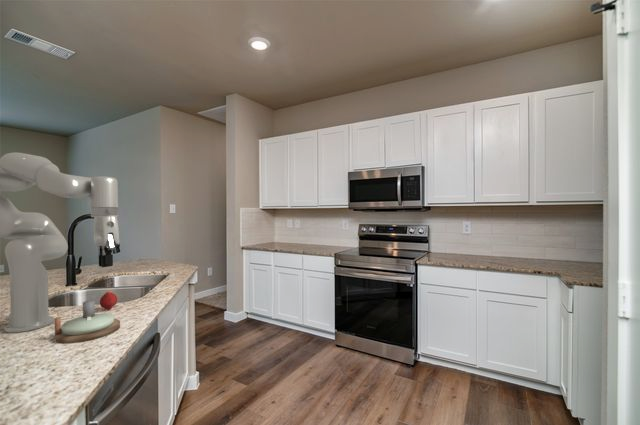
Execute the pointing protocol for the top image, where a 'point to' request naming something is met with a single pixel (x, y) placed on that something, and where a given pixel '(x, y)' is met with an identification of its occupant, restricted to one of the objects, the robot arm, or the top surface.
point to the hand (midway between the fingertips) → (105, 265)
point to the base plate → (83, 337)
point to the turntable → (87, 321)
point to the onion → (108, 300)
